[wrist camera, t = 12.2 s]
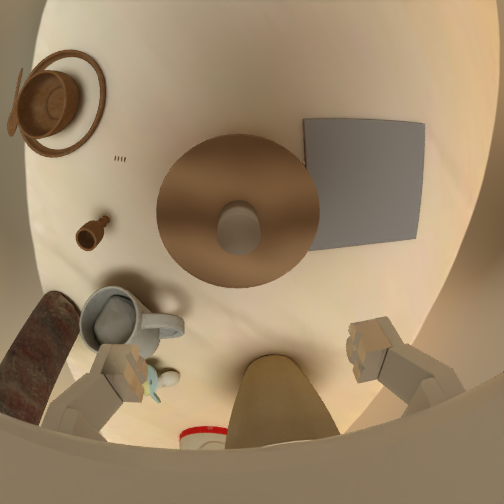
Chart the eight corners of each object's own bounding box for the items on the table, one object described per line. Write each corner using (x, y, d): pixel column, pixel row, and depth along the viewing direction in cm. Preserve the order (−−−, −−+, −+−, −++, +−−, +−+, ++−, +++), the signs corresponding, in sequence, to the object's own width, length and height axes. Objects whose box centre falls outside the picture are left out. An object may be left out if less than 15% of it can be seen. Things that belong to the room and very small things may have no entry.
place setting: (147, 49, 21) (126, 36, 16) (123, 231, 30) (103, 256, 25) (20, 60, 19) (-11, 58, 14) (12, 212, 28) (-14, 231, 23)
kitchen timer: (238, 452, 56) (240, 506, 43) (180, 447, 54) (176, 502, 41) (249, 428, 50) (253, 493, 37) (180, 422, 48) (174, 488, 35)
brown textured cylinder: (93, 315, 35) (37, 437, 17) (75, 338, 37) (28, 446, 19) (51, 281, 32) (-24, 391, 14) (38, 308, 34) (-23, 408, 16)
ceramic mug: (127, 303, 36) (105, 354, 32) (96, 276, 29) (68, 337, 25) (196, 329, 34) (174, 387, 30) (175, 305, 27) (144, 379, 23)
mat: (302, 119, 25) (304, 119, 25) (422, 123, 25) (424, 123, 25) (307, 249, 32) (308, 250, 31) (413, 237, 32) (415, 238, 31)
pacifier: (127, 356, 37) (146, 384, 34) (162, 341, 42) (184, 367, 38) (133, 385, 41) (152, 411, 37) (164, 371, 45) (185, 395, 41)
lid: (148, 146, 21) (127, 156, 17) (311, 127, 21) (330, 132, 17) (178, 284, 27) (169, 317, 23) (314, 270, 27) (328, 300, 23)
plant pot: (237, 402, 45) (241, 485, 31) (208, 348, 38) (202, 452, 24) (323, 385, 44) (345, 466, 30) (316, 324, 37) (349, 427, 23)
